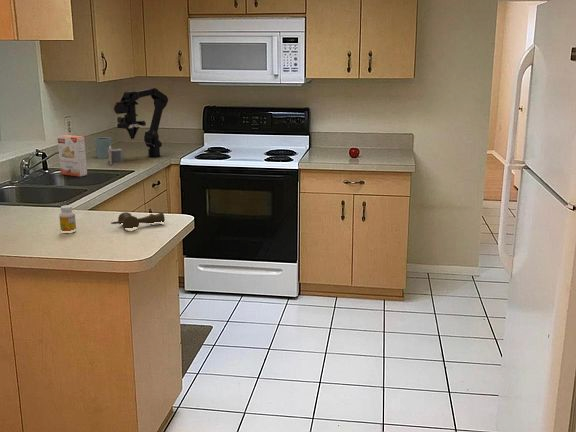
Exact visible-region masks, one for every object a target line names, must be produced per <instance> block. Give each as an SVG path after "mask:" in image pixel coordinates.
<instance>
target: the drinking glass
mask: <svg viewBox="0 0 576 432" xmlns="http://www.w3.org/2000/svg"><path fill="white" fill-rule="evenodd" d="M93 141H94V146H95V153H96V158H97V159H103V160H104V159H109V158H108V150H109V146H111V147H112V138H111V137H108V136H107V137H95V138H93Z"/></svg>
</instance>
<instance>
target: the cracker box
mask: <svg viewBox="0 0 576 432" xmlns="http://www.w3.org/2000/svg"><path fill="white" fill-rule="evenodd" d="M85 140H86V139H85V136H81V135H79V136H78V135H71V134H70V135H69V134H62V135H57V147H58V155H59V157H58V158H59V168H60V175H64V176H70V177H79V178H82V177H83V176H84V177H85V176H88V165H87V154H86V141H85Z"/></svg>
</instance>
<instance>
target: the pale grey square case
mask: <svg viewBox="0 0 576 432" xmlns="http://www.w3.org/2000/svg"><path fill="white" fill-rule="evenodd" d="M111 149H112V145H111V146H109V150H108V155H109V158H108V161H109V160H110V163H109V165H110V166H112V164H113V163H112V153H111Z"/></svg>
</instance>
